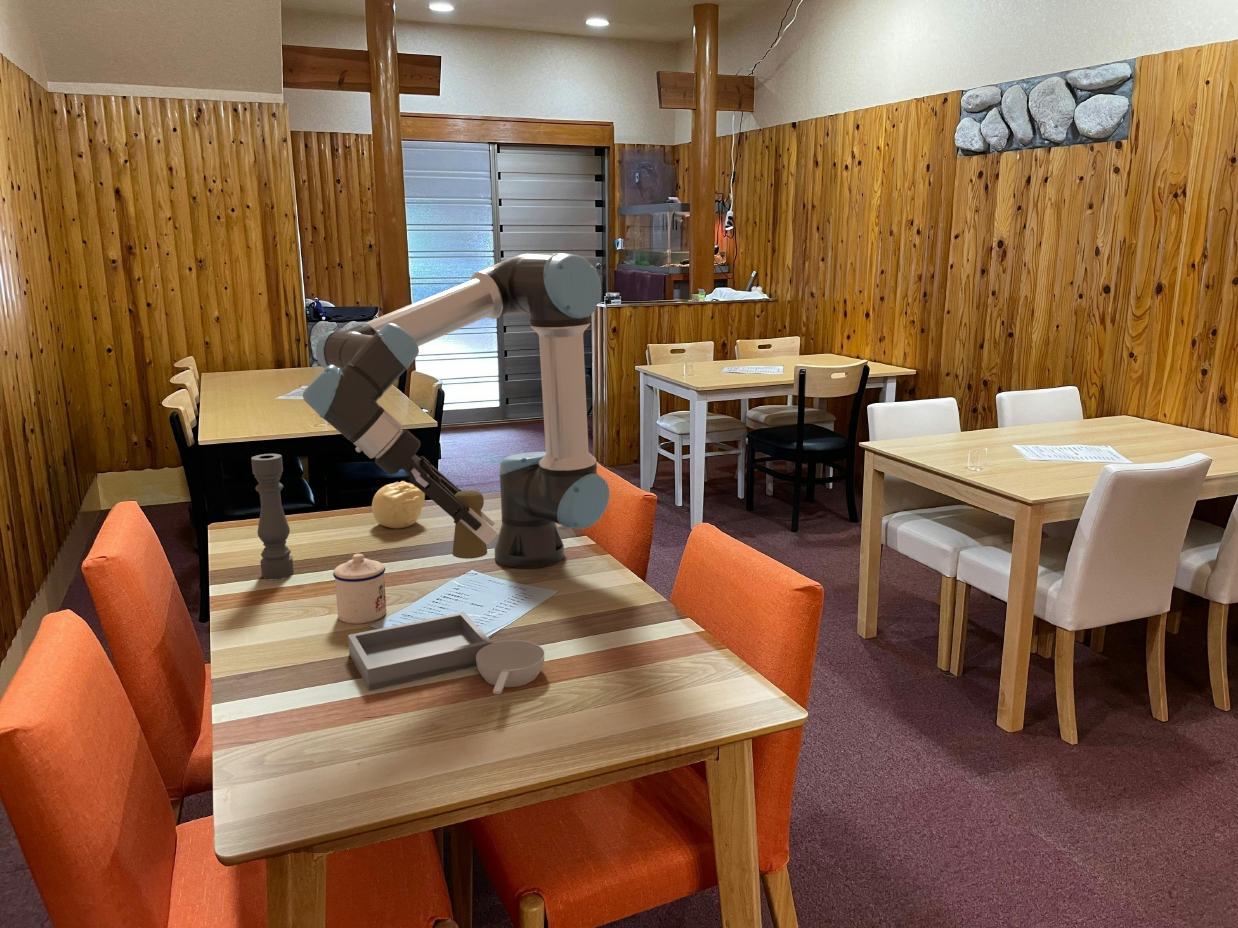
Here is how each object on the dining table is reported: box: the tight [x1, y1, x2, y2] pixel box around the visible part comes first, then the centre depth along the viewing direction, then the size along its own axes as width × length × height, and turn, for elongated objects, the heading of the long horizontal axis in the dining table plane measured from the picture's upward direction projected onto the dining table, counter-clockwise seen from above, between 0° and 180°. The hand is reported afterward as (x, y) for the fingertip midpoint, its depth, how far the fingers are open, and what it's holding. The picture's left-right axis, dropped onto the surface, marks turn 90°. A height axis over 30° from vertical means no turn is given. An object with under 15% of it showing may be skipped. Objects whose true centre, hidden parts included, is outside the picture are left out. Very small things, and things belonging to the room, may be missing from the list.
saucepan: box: [476, 639, 545, 695], centre depth 136 cm, size 11×18×4 cm, turn 178°
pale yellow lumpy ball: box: [371, 480, 426, 529], centre depth 214 cm, size 11×12×11 cm
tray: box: [347, 611, 493, 691], centre depth 145 cm, size 20×14×4 cm
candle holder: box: [250, 453, 295, 580], centre depth 179 cm, size 6×6×25 cm
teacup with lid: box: [332, 553, 387, 625], centre depth 162 cm, size 12×9×12 cm
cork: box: [452, 489, 488, 560], centre depth 151 cm, size 6×6×11 cm
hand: (490, 533), depth 152 cm, fingers closed on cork, 5 cm apart
